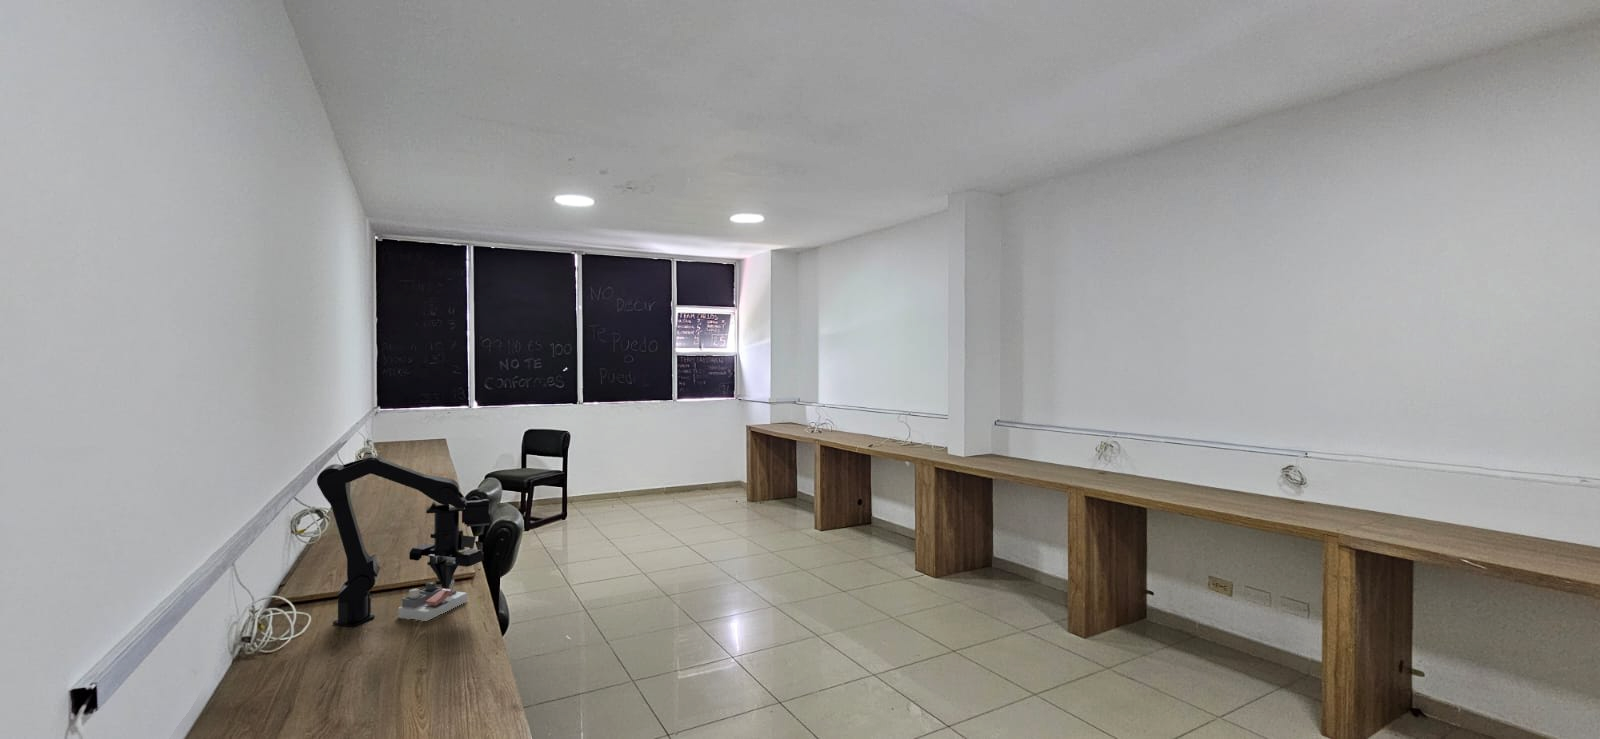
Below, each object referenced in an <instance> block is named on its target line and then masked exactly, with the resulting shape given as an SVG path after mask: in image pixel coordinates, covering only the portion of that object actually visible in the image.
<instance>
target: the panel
mask: <svg viewBox="0 0 1600 739" xmlns="http://www.w3.org/2000/svg"><path fill="white" fill-rule="evenodd" d="M454 583H455V579H453V580H452V581H451V584H450V588H449V589H452V587H453V588H454ZM440 590H442V588H441V587H439V586H438V587H437V586H436V591H433V592H426V588H424V589H422V590H420V598H418V599H415V600H412V599H409V595H408V596H405V597H403V598H402V599H401V600H402V601H401V604H402V605H401V606H399V607H397V618H399V619H404V618H405V619H406V620H410V619H416V620H415V621H417V620H424V621H427V620H430V619H432V618H434V617H436V616H438V615H440V614H442V615H443V613H444V614H446V613H447V611H448V612H449V610H450V611H452V610H453V608H454V609H456V608H458V607H460V606H462V605H464V604H467V603H468V592H464V591H457V589H453V590H452V591H453V593H452V594H451V595H449V596H448V597H447V598H445V599H444V600H443V601H441V602H440V603H439V604H437V605H436V606H434V605H427V604H426V601H427V600H428V599H429V598H431V597H432V596H433V595H435V594H436V593H438V592H439V591H440ZM463 603H464V604H463ZM461 604H462V605H461ZM459 605H460V606H459ZM457 606H458V607H457ZM455 607H456V608H455ZM451 609H452V610H451ZM445 612H446V613H445ZM440 616H441V615H440ZM438 617H439V616H438ZM436 618H437V617H436ZM405 619H404V620H405ZM434 619H435V618H434ZM432 620H433V619H432ZM430 621H431V620H430Z"/></svg>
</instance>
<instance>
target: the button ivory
mask: <svg viewBox="0 0 1600 739" xmlns="http://www.w3.org/2000/svg"><path fill="white" fill-rule="evenodd" d="M420 591H421V590H420V588H412V589H409V591H408V596H409V599H412V600H415V599H418V598H420Z"/></svg>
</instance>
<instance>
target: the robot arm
mask: <svg viewBox="0 0 1600 739" xmlns="http://www.w3.org/2000/svg"><path fill="white" fill-rule="evenodd" d="M367 475H373V476H377V477H381V478H383V479H386V480H388V481H391V482H394V483H397V484H400V485H403V486H405V487H407V488H411V489H414V490H416V491H419V492H421V493H422V494H423V495H425V496H426V497H428V498H430V499H431V500H432V501H433V502H432V503H431V504H430V506H428V507H427V508H426V509H425V510H426V512H425V513H426V514H434V515H433V516H434V520H433V521H434V522H433V523H434V524H433V526H434V528H433V530H434V532H433V533H430V538H431V539H433V540H434V541H433V542H434V544H432V543H423V544H420V545H417V546H415V547H412V548H411V550H410V551H409V553H408V554H409V555H408V556H409V560H411V561H416V562H417V561H419V560H421V559H422V557H424V556H425V557H429V561H428V562H426V565H427V566H429V567H430V568H431V569H432V571H433V572H434V574H435V575H436V577H437V578H438V580H439V582H440V584H441V586H443V587H444V588H447V587H449V585H450V583H451V580H452V578H453V577H454V575H455V572H456V570H457V568H458V567H459V566H460V567H464V568H465V567H467V568H468V567H472V566H473V565H476V564H479V563H480V562H483V561H484V560H485V558H484V557H485V554H484V552H483V550H482V549H474V548H475V547H474V546H475V543H476V539H477V537H476V536H471V535H464V530H462V529H460V512H461V524H464V525H465V526H466V527H467V528H468V527H479V526H480V527H481V526H490V521H491V520H490V519H491V515H490V514H491V511H490V503H489V502H490V500H489V499H488V498H484V499H483V498H482V499H478V500H468V499H467V498H466V496H465V495H463V494H462V493H461V491H460V485H459V483H458V482H457V481H456V480H455V479H453V478H449V477H444V476H437V475H427V474H424V473H421V472H419V471H416V470H413V469H411V468H408V467H405V466H404V465H403V466H402V465H399V464H397V463H394V462H392V461H389V460H386V459H383V458H381V457H379V456H378V455H368V456H367V457H364V458H361V459H357V460H354V461H351V462H348V463H345V464H337V463H333V464H330V465H328V466H327V467H325V468H324V469H323V470H322V471H321V472H320V473H319V474H318V476H317V478H316V485H317V487H318V488H319V490H320V492H321V494H322V496H323V497H324V498H325V500H326V501H327V502H328V504H329V505H330V506H331V509H332V513H333V516H334V520H335V522H336V526H337V529H338V530H337V531H338V534H339V536H340V537H339V538H340V540H341V543H342V546H343V550H344V553H345V556H346V560H347V561H346V576H347V578H346V579H347V580H346V581H344V583H343V584H342V586H341V588H340V590H339V592H338V593H337V619H336V620H334V621H332V624H333V625H339V626H344V627H351V628H354V627H356V626H358V625H360V624H361V625H362V624H363V623H365V622H367V621H369V620H373V619H375V614H371V613H372V612H371V611H372V606H371V604H372V600H371V599H372V598H371V593H370V592H369V591H371V590H372V589H373V588H374V586H375V585H376V582H377V579H378V576H379V573H380V570H381V567H380V565H379V564H378V560H377V559H378V558H377V554H373V555H371V556H370V554H369V553H368V552H367V550H366V548H365V545H364V544H365V543H364V540H363V538H362V534H361V530H360V527H359V524H358V520H357V518H356V515H355V510H354V506H353V504H352V500H351V482H353V481H355V480H357V479H360V478H362V477H365V476H367ZM437 503H438V504H437ZM466 548H469V549H466ZM465 549H466V550H465ZM460 551H461V552H460ZM453 579H454V578H453Z"/></svg>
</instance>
